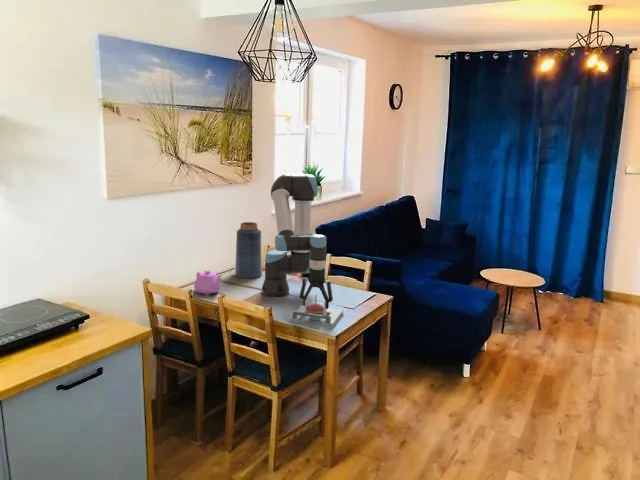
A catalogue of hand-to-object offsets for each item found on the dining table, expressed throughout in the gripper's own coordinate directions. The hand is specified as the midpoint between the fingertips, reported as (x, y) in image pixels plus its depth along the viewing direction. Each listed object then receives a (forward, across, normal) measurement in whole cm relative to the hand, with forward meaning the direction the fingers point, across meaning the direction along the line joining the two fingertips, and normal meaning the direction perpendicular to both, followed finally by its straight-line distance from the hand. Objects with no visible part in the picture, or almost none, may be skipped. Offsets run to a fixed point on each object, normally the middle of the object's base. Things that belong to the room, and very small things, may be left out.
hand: (315, 313), depth 249 cm
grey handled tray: (+3, 0, +2) cm, 4 cm away
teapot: (+3, -65, +16) cm, 67 cm away
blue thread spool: (+3, -59, +55) cm, 81 cm away
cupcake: (+3, 0, 0) cm, 3 cm away
